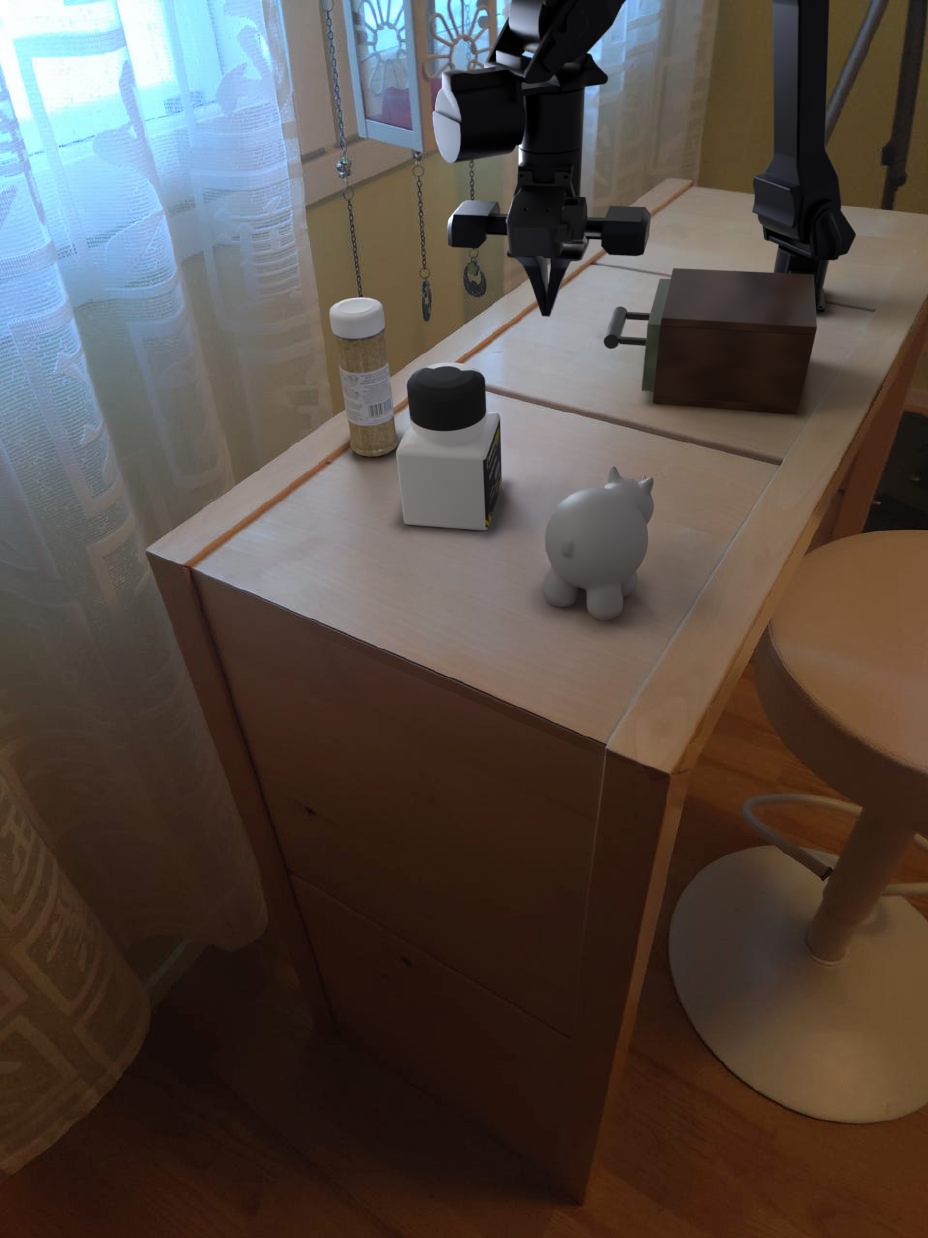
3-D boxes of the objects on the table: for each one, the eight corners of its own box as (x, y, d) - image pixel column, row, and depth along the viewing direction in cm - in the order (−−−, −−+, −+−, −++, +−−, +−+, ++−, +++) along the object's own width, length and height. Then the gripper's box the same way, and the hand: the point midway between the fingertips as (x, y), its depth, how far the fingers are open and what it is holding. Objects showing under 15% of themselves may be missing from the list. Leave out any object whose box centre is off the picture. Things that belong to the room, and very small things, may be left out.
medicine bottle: (487, 532, 72) (482, 397, 64) (403, 526, 73) (387, 393, 65) (502, 484, 77) (499, 354, 69) (423, 479, 79) (411, 351, 71)
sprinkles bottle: (390, 430, 85) (374, 291, 77) (404, 452, 82) (389, 310, 73) (344, 440, 84) (322, 301, 76) (357, 463, 81) (335, 320, 72)
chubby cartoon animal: (684, 549, 69) (698, 454, 64) (613, 638, 62) (622, 539, 56) (602, 522, 72) (608, 429, 67) (525, 603, 65) (525, 507, 60)
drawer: (598, 387, 88) (601, 321, 83) (613, 338, 96) (617, 276, 92) (774, 401, 84) (788, 332, 80) (774, 349, 92) (787, 284, 88)
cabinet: (652, 403, 87) (661, 317, 81) (664, 347, 96) (672, 267, 90) (797, 414, 84) (817, 326, 78) (796, 356, 93) (813, 273, 87)
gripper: (426, 167, 76) (436, 341, 86) (645, 174, 72) (629, 356, 82) (459, 135, 84) (465, 297, 94) (658, 139, 80) (642, 308, 90)
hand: (546, 314), depth 90 cm, fingers closed
